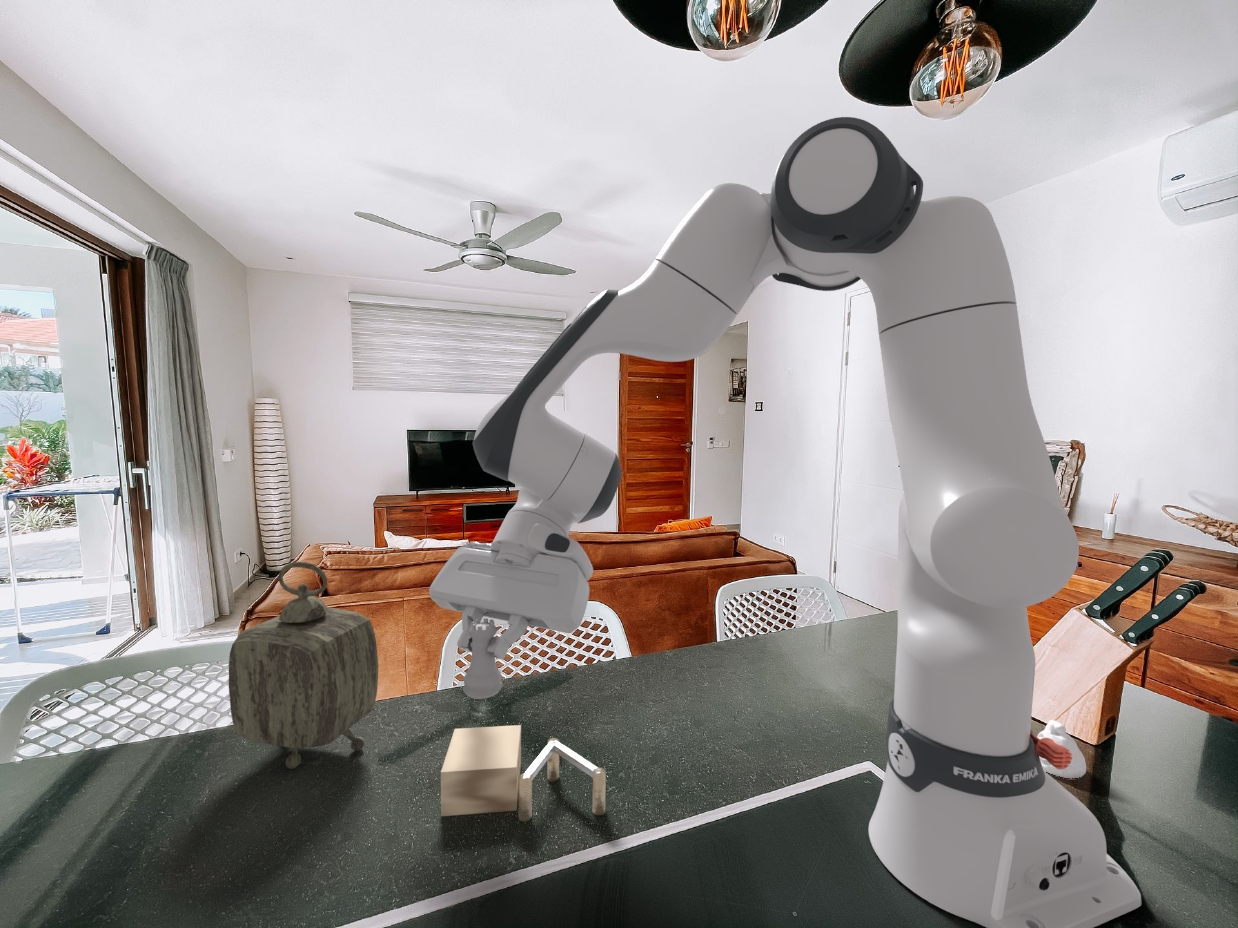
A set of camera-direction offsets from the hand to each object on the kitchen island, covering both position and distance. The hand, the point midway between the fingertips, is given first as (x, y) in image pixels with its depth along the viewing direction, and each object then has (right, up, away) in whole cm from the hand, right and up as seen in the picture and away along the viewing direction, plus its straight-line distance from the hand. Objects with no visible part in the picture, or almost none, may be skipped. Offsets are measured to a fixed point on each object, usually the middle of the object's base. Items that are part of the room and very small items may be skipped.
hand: (479, 652), depth 59 cm
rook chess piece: (0, -5, +1) cm, 5 cm away
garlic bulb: (+71, -17, +7) cm, 74 cm away
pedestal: (0, -16, +2) cm, 16 cm away
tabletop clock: (-24, -16, +7) cm, 29 cm away
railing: (+8, -17, +1) cm, 19 cm away
